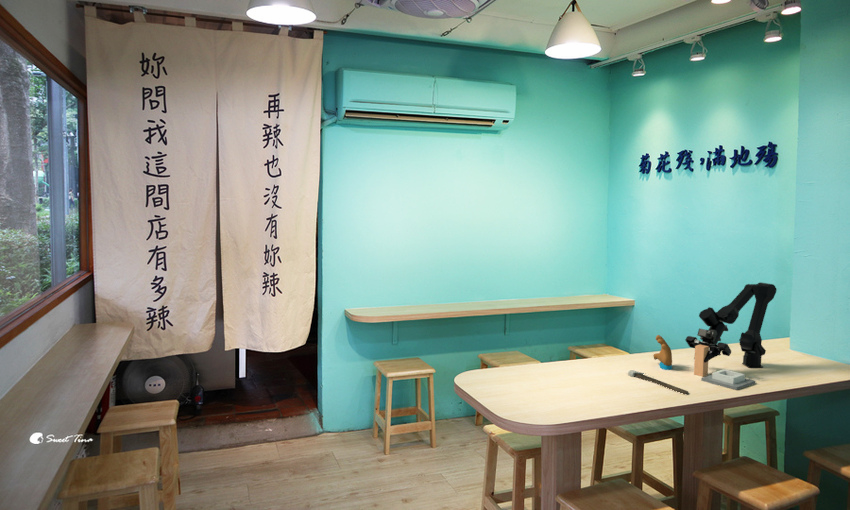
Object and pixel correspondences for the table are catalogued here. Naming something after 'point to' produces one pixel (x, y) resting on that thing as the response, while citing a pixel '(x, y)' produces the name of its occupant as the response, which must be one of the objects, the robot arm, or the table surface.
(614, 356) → the table surface
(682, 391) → the axe
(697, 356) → the tan square peg
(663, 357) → the toy
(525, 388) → the table surface
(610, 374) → the table surface
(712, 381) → the housing
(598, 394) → the table surface
